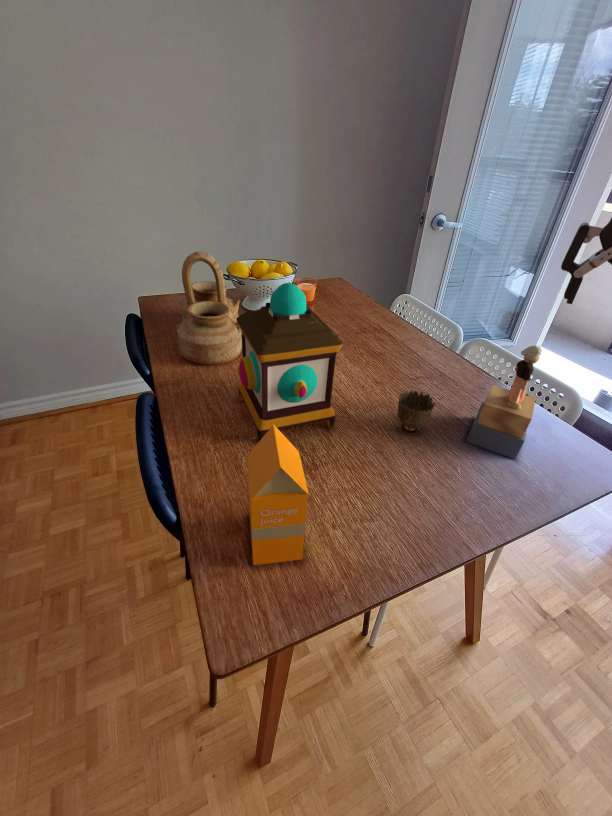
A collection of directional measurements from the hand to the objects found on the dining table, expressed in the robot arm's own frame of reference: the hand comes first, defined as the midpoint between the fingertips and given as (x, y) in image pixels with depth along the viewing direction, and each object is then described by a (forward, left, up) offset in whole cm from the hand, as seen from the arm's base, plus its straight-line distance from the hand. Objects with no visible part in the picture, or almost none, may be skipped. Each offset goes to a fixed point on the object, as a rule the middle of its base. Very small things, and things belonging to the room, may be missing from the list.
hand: (602, 309), depth 57 cm
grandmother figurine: (+5, -12, -25) cm, 29 cm away
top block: (+6, -12, -30) cm, 33 cm away
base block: (+6, -12, -35) cm, 38 cm away
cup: (+23, -4, -35) cm, 42 cm away
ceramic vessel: (+86, -12, -35) cm, 94 cm away
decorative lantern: (+49, +7, -35) cm, 60 cm away
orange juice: (+32, +36, -35) cm, 59 cm away
